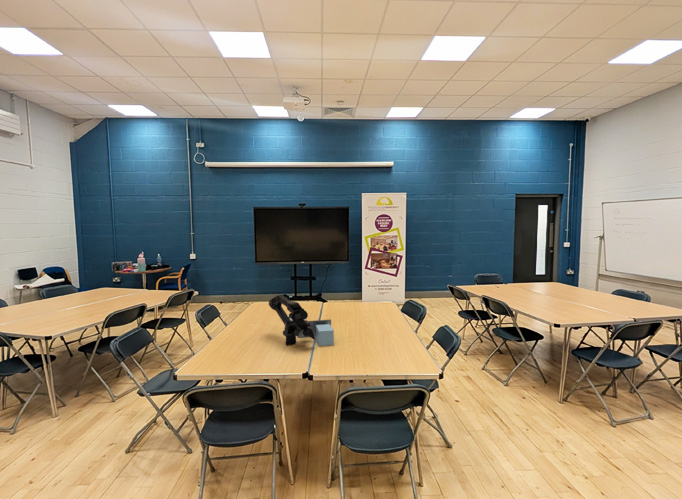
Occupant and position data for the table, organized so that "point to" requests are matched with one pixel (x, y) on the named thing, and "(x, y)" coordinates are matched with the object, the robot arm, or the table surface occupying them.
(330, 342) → the pale blue box
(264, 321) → the table surface
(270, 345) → the table surface
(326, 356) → the table surface
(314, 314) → the table surface
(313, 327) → the dark grey case
